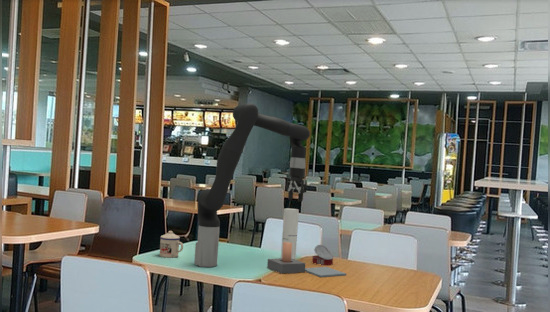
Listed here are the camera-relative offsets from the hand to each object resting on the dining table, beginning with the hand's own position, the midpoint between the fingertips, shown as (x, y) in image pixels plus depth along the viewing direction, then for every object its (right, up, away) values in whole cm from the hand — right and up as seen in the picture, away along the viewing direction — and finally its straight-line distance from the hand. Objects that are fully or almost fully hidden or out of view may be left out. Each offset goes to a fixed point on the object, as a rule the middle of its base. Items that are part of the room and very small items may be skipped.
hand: (295, 200), depth 247 cm
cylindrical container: (-4, -29, -2) cm, 30 cm away
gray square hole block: (-5, -29, -24) cm, 38 cm away
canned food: (+13, -31, -2) cm, 33 cm away
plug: (-5, -29, -24) cm, 38 cm away
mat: (+12, -30, -24) cm, 40 cm away
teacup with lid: (-58, -26, -10) cm, 64 cm away
